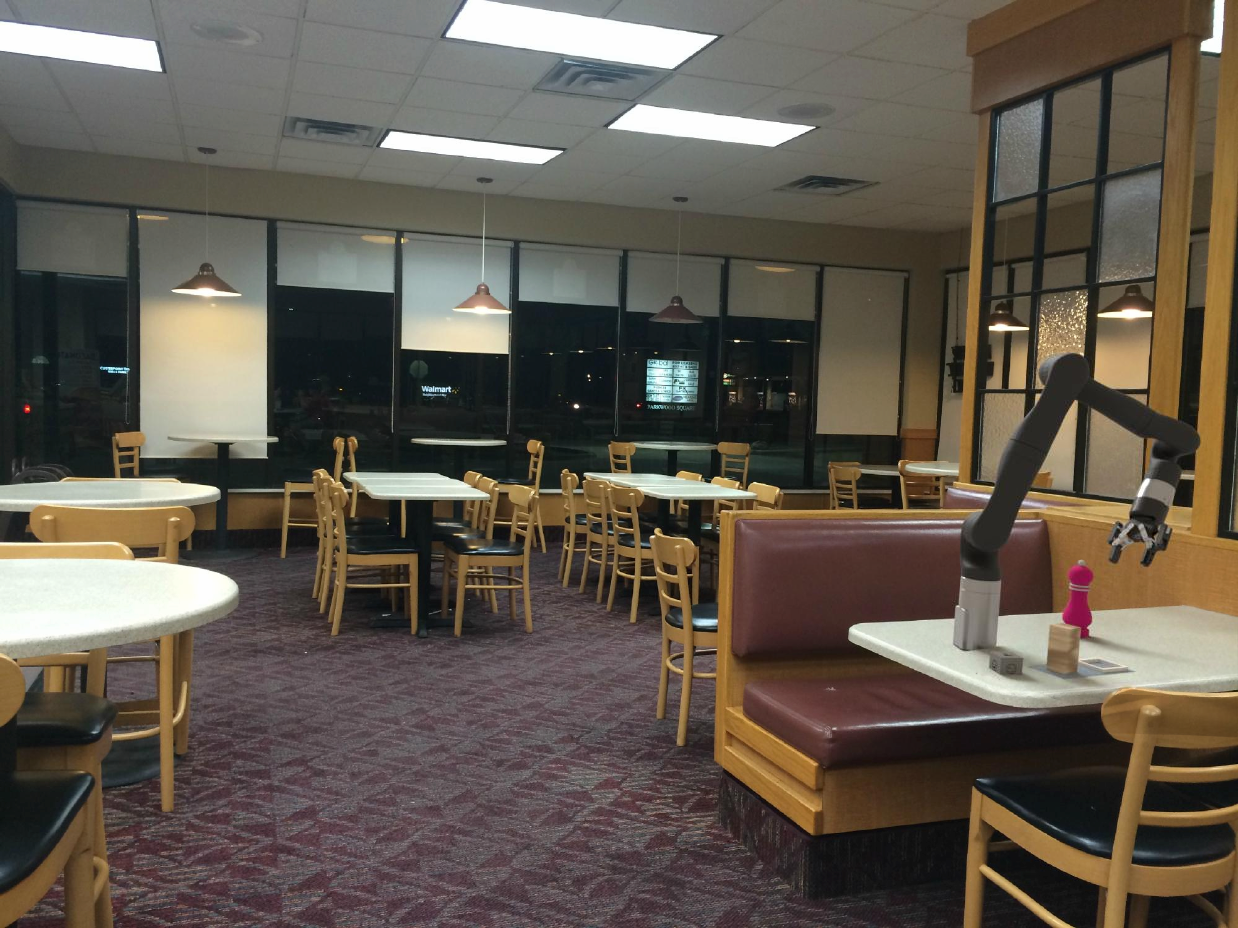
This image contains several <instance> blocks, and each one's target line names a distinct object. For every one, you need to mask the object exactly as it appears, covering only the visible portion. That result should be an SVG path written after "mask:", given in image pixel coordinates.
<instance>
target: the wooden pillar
mask: <svg viewBox="0 0 1238 928" xmlns="http://www.w3.org/2000/svg"><path fill="white" fill-rule="evenodd" d="M1048 629H1049V632H1048V644H1047V653H1046V654H1047V655H1046V656H1047V657H1046V664H1047V666H1046V669H1048V670H1052V671H1055V672H1058V673H1062V674H1070V673H1076V672H1077V670H1078V659H1080V658H1079V655H1080V646H1081V637H1080V634H1081V628H1080V627H1076V626H1072V625H1068V624H1065V623H1064V622H1061V623H1059V622H1058V623H1052V624H1049V628H1048Z"/></svg>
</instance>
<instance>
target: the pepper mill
mask: <svg viewBox="0 0 1238 928" xmlns="http://www.w3.org/2000/svg"><path fill="white" fill-rule="evenodd" d="M1077 564H1078V565H1074V566H1072V567H1071V568H1070V569H1069V570H1068V572H1067V576H1068V579H1069V581H1070V583H1069V586H1068V589H1069V590H1070V597H1069V601H1068V603H1067V605H1066V606H1065V608H1064V609H1063V612H1062V617H1061V620H1062V621H1063V623H1064V624H1068V625H1072V626H1076V627H1080V628H1081V634H1080V638H1089V636H1090V629H1089V628H1088V627H1089V626H1091V624H1092V623H1093V615H1092V611H1091V609H1090V606H1089V603H1088V595H1089V592H1090V591H1091V585H1090V584H1091V583H1092V582H1093V580H1094V572H1093V571H1092V569H1091V568H1089V567H1088V566H1086V561H1085V560H1083V559H1080V560H1078V562H1077Z"/></svg>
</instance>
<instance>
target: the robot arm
mask: <svg viewBox="0 0 1238 928" xmlns="http://www.w3.org/2000/svg"><path fill="white" fill-rule="evenodd" d="M1038 379H1039V380H1040V382H1041V384H1042V385H1043V386H1044V387H1043V388H1042V391H1041V393H1040V396H1039V398H1038V399H1037V401H1036V403H1035V404H1034V405H1033V407H1032V408H1031V410H1030V411H1029V412H1028V413H1027V414H1026V415H1025V417H1024V418H1023V419H1022V420H1021V422H1020V423H1019V424H1018V425H1017V426H1016V428H1015V429H1014V431H1013V432H1012V434H1011V436H1010V437H1009V439H1008V440H1007V443H1006V446H1005V447H1004V449H1003V451H1002V453H1001V455H1000V459H999V463H998V467H997V471H996V477H995V483H994V486H993V490H992V492H991V495H990V497H989V499H988V501H987V502H986V504H985V506H984V508H983V509H982V510H978V511H973V512H971V513H969V514H968V515H967V516H966V517H965V519H964V520H963V522H962V524H961V525H962V526H961V529H960V540H959V541H960V542H959V563H960V570H961V571H960V586H959V595H958V605H955V610H954V622H953V623H954V625H953V634H952V635H953V638H952V644H954V645H955V646H956V647H957V648H959V649H961V650H968V651H977V650H983V649H991V648H997V642H998V640H997V639H998V630H999V629H998V625H999V613H1000V602H1001V589H1002V588H1001V587H1002V575H1003V574H1002V573H1003V571H1002V567H1001V564H1000V559H999V551H1000V550H1001V549H1002V548H1003V547H1004V546H1005V545H1006V544H1007V542H1008V541H1009V538H1010V535H1011V533H1012V530H1013V528H1014V525H1015V522H1016V520H1017V517H1018V514H1019V512H1020V509H1021V507H1022V504H1023V503H1024V501H1025V498H1026V497H1027V495H1028V493H1029V492H1030V489H1031V487H1032V486H1033V484H1034V481H1035V480H1036V478H1037V475H1038V474H1039V472H1040V470H1041V468H1042V467H1043V465H1044V463H1045V461H1046V458H1047V456H1048V454H1049V452H1050V450H1051V449H1052V446H1053V443H1054V441H1056V437H1057V435H1058V433H1059V431H1060V429H1061V427H1062V424H1063V422H1064V419H1066V416H1067V414H1068V413H1069V411H1070V409H1071V407H1072V405H1074V402H1075V401H1077V402H1079V403H1080V404H1083V405H1084V406H1087V407H1089V408H1091V409H1092V410H1094V411H1096V412H1097V413H1099V414H1101V415H1102V416H1104V417H1106V418H1107V419H1108V420H1110V421H1113V423H1116V424H1117V425H1118V426H1120V427H1122V428H1124V429H1125V430H1126V431H1128V432H1129V433H1131V434H1133V435H1135V436H1136V437H1139V438H1141V439H1153V441H1152V444H1151V446H1150V447H1151V448H1150V454H1149V464H1148V465H1149V466H1148V468H1147V471H1146V473H1145V476H1144V478H1143V480H1142V482H1141V484H1140V486H1139V488H1138V489H1137V492H1136V494H1135V497H1134V500H1133V502H1132V504H1131V508H1130V509H1129V511H1128V516H1129V519H1128V520H1127V521H1126V523H1122V522H1121V521H1120V520H1116V521H1115V522H1114V524H1113V526H1112V528H1111V530H1110V532H1109V535H1108V537H1107V538H1106V543H1107V544H1109V546H1110V545H1111V550H1110V553H1109V555H1108V561H1109V562H1110V563H1111V564H1114V565H1117V564H1119V560H1120V558H1121V556H1122V552H1123V549H1125V548H1126V547H1127V546H1130V545H1132V544H1133V543H1143V544H1145V546H1146V548H1144V551H1143V553H1142V556H1141V558H1140V561H1139V563H1140V565H1142V566H1143V567H1145V568H1149V567H1150V565H1151V564H1152V563H1153V561H1154V558H1155V555H1156V554H1157V553H1158V552H1165V551H1167V548H1168V545H1169V542H1170V540H1171V536H1172V533H1173V528H1172V527H1171V526H1170V525H1168V524H1167V523H1165V521H1166V519H1167V516H1168V514H1169V511H1170V508H1171V507H1172V504H1173V501H1174V497H1175V494H1176V490H1177V487H1178V485H1179V482H1180V481H1181V478H1182V477H1181V476H1182V474H1183V473H1182V472H1183V470H1182V468H1181V466H1180V465H1179V464H1177V462H1178V459H1179V458H1180V457H1184V456H1187V455H1191V454H1193V453H1194V452H1196V451H1197V450H1198V449H1200V446H1201V443H1202V442H1201V436H1200V434H1199V432H1198V431H1197V430H1196V429H1195V428H1194V427H1193V426H1192V425H1190V424H1188V423H1186V422H1183V421H1182V420H1180V419H1177V418H1174V417H1171V416H1168V415H1166V414H1161V413H1159V412H1157V411H1156V410H1155V409H1153V408H1151V407H1149V406H1148V405H1146V404H1145V403H1143V402H1141V401H1139V400H1138V399H1136V398H1135V397H1132V396H1130V395H1128V394H1125V393H1123V392H1121V391H1118V390H1116V389H1114V388H1111V387H1109V386H1107V385H1105V384H1103V383H1101V382H1099V381H1097V380H1096V379H1094V378H1093V377H1091V376H1090V365H1089V362H1088V359H1086V358H1085V357H1084V356H1083V355H1082V354H1080V353H1076V352H1063V353H1057V354H1053V355H1050V356H1049V357H1046V358H1045V359H1043V361H1042V362H1041V364H1040V365H1039V368H1038Z"/></svg>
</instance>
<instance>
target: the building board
mask: <svg viewBox="0 0 1238 928" xmlns="http://www.w3.org/2000/svg"><path fill="white" fill-rule="evenodd" d="M1046 666H1047V663H1045V664H1036V665H1034V664H1033V665H1027V667H1028V668H1031V669H1035V670H1037V671H1039V672H1042V673H1046V674H1048V675H1052V676H1054V677H1057V678H1060V679H1063V680H1067V679H1077V678H1087V677H1097V676H1106V675H1107V676H1108V675H1117V674H1126V673H1127V674H1128V673H1135V672H1136V671H1135V670H1132V669H1129V667H1128V666H1127V665H1123V664H1119V663H1117V662H1114V661H1110V660H1107V659H1104V658H1101V657H1090V658H1081V659H1080V658H1078V670H1077V672H1076V673H1070V674H1062V673H1058V672H1055V671H1052V670H1048V669H1046Z"/></svg>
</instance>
